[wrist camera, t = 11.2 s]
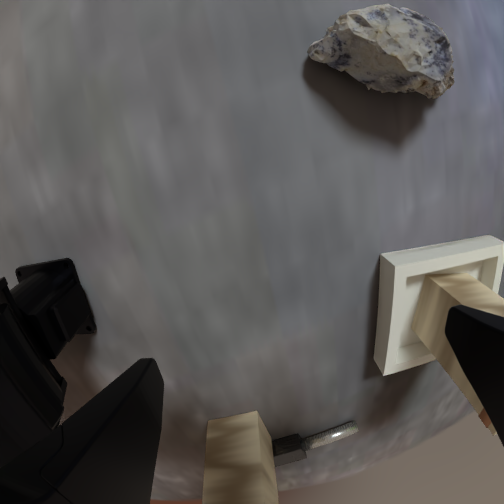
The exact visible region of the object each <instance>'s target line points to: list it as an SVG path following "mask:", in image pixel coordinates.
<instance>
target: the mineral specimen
mask: <svg viewBox="0 0 504 504" xmlns="http://www.w3.org/2000/svg"><path fill="white" fill-rule="evenodd" d="M326 33H327V34H326V35H325V36H324V38H322V39H321V40H319V41H315V42H313V43H312V44H311V45H310V47H309V49H308V51H307V53H309V56H310V58H311V59H312V60H315V61H318V62H322V63H327V64H328V65H329V66H330V67H332V68H335V69H337V70H339V71H344V70H345V71H346V72H347V73H349V74H350V75H351V76H352V77H354V78H355V79H356V80H358V81H359V82H361V83H363V84H366V86H367V88H368V90H370V89H371V88H373V89H374V90H377V91H381V93H385V92H392V93H397V92H398V91H399V92H403V93H408V92H419V93H421V94H423V95H425V96H427V98H428V99H429V98H433V99H434V98H437V97H439V96H441V95H442V94H443V93H444V92H445V91H446V90H447V89H449V88H450V87H451V86H452V85H453V84H454V80H453V79H454V76H453V72H454V69H453V67H452V64H453V62H454V61H453V60H452V57H453V56H452V55H451V54H452V48H451V45H450V42H449V40H448V38H447V36H446V34H445V33H444V32H443V31H442V28H440V27H438V26H437V25H436V24H435V23H434V22H433V21H432V20H431V19H429V18H427V17H426V16H424V15H422V14H420V13H417V12H415V11H413V10H410V9H408V8H403V7H402V8H399V9H398V8H396V7H394V6H391V5H389V4H384V5H374V6H369V7H367V8H364V9H359V10H350V11H349V12H348V13H346V14H344V15H341V16H340V17H339V18H338V19H337V20H336V21H335V23H334V25H333V26H331V27H328V29H327V30H326Z"/></svg>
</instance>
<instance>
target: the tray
mask: <svg viewBox="0 0 504 504" xmlns="http://www.w3.org/2000/svg"><path fill="white" fill-rule="evenodd" d="M503 263H504V242H503V241H501V240H499V239H497V238H495V237H493V236H491V235H484V236H479V237H473V238H468V239H462V240H457V241H451V242H446V243H440V244H435V245H429V246H423V247H417V248H412V249H406V250H400V251H394V252H388V253H382V254H380V280H379V300H378V315H377V328H376V338H375V348H374V357H373V359H374V361H375V362H376V364H377V366H378V368H379V369H380V371H381V373H382V375H383V376H385V375H389V374H393V373H396V372H399V371H403V370H406V369H409V368H412V367H415V366H419V365H422V364H425V363H428V362H431V361H433V360H436V358H435V357H434V355H433V354H432V353H431V352H430V350H429V349H428V348H427V347H426V346H425V344H424V343H423V342H422V341H421V340H420V338H419V337H418V336H417V335H416V334H415V332H414V331H413V330H412V329H411V326H412V323H413V320H414V316H415V313H416V309H417V305H418V302H419V298H420V294H421V290H422V286H423V282H424V277H425V274H452V273H468V274H469V275H471V276H472V277H474V278H475V279H477V280H478V281H480V282H481V283H482V284H484V285H485V286H487V287H488V288H490V289H491V290H492V291H494V292H495V293H496V294H498V290H499V285H500V280H501V275H502V269H503Z"/></svg>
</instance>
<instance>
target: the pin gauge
mask: <svg viewBox="0 0 504 504" xmlns="http://www.w3.org/2000/svg"><path fill="white" fill-rule="evenodd" d="M358 432H359V430H358V427H357V425H356V422H355V421H352V422H350V423H347V424H345V425H342V426H339V427H337V428H334V429H331V430H329V431H326V432H323V433H320V434H317V435H314V436H311V437H308V438H305V439H301V437H300V436H299V434H298V433H297V434H294V435H291V436H287V437H284V438H281V439H277V440H273V441H272V449H273V457H274V466H275V467H276V466H280V465H284V464H287V463H291V462H295V461H298V460H301V459H305V458H307V456H306V451H307V450H310V449H314V448H317V447H320V446H323V445H325V444H328V443H331V442H334V441H337V440H339V439H342V438H345V437H347V436H350V435H353V434H355V433H358Z"/></svg>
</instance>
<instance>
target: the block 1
mask: <svg viewBox="0 0 504 504" xmlns="http://www.w3.org/2000/svg"><path fill="white" fill-rule="evenodd" d="M202 504H279V500H278V491H277V483H276V474H275V466H274V457H273V449H272V440H271V436H270V434H269V433H268V431H267V429H266V427H265V425H264V423H263V421H262V419H261V417H260V415H259V413H258V411H253V412H249V413H244V414H239V415H235V416H230V417H225V418H219V419H214V420H208V425H207V438H206V452H205V466H204V482H203V498H202Z"/></svg>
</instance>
